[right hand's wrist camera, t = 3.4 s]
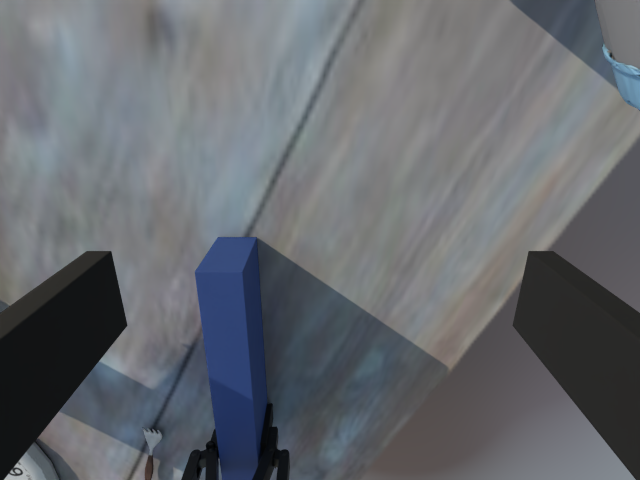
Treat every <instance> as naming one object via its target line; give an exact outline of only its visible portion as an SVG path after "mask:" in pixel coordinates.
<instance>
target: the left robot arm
mask: <svg viewBox="0 0 640 480" xmlns="http://www.w3.org/2000/svg"><path fill="white" fill-rule="evenodd" d="M272 422H273V409H272V404H267V406H266V412H265V418H264V424H263V430H262V436H261V442H260V446H261V460H260V462H259V464H258V467H257V469H256V472H255V474H254V476H253V479H252V480H270V477H271V475H272V472H273V469H274V467H275V468H276V467H278V471H277V480H289V471H290V461H289V451H288V450H285V449H284V450H281V451H280V450H278V449H277V444H278V429H277V427H272ZM218 459H220V458H219V450H218V443H217V435H216V428H215V429H214V432H213V435H212V438H211V441H209V442H208V443H207V444H206V450H204V451H200V450H194V451H192V452H191V454H190V457H189V460H188V462H187V465H186V468H185V471H184V474H183V476H182V479H181V480H199V478H200V475H201V472H202V469H203V468H204V467H206V480H219V461H218Z"/></svg>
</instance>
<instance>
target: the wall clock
mask: <svg viewBox="0 0 640 480" xmlns="http://www.w3.org/2000/svg"><path fill="white" fill-rule="evenodd" d="M4 480H59V477H58V475H57V473H56V471H55V469H54V466H53V464H52V462H51V461H50V460H49V458H48V457H47V456H46V455H45V454H44V452H43V451H42V450H41V449H40V448H39V446H38V445H37V444H36V443H35V442H34V443H33V444H32V445H31V447H30V448H29V449H28V450H27V452H26V453H25V454H24V455H23V457H22V458H21V459H20V460H19V462H18V463H17V464H16V465H15V467H14V468H13V469H12V470H11V472H10V473H9V474H8V475H7V477H6V478H5V479H4Z"/></svg>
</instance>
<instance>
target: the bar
mask: <svg viewBox="0 0 640 480" xmlns="http://www.w3.org/2000/svg"><path fill="white" fill-rule="evenodd" d="M195 277H196V284H197V292H198V300H199V307H200V315H201V322H202V330H203V337H204V345H205V352H206V360H207V367H208V375H209V382H210V390H211V398H212V405H213V413H214V420H215V428H216V435H217V443H218V450H219V458H220V465H221V473H222V480H252V479H253V476H254V474H255V472H256V469H257V467H258V464H259V462H260V460H261V446H260V442H261V436H262V430H263V424H264V418H265V412H266V406H267V404H268V403H267V388H266V372H265V357H264V341H263V326H262V310H261V295H260V279H259V264H258V248H257V237H218V238H217V240H216V241H215V243H214V244H213V246H212V247H211V248H210V250H209V251H208V253H207V254H206V256H205V257H204V259H203V260H202V262H201V263H200V265H199V266H198V268H197V269H196V271H195Z"/></svg>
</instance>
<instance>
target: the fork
mask: <svg viewBox="0 0 640 480" xmlns="http://www.w3.org/2000/svg"><path fill="white" fill-rule="evenodd" d="M142 429H143V430H144V435H145V438H146V440H147V443H148V445H149V448H150V452H149V456H148V460H147V464H146V468H145V480H151V478H152V474H153V448H154V447H155V446H156V445H157V444H158V443H159V442H160V441H161V439H162V434H161V432H160V431H159V430H157V431H158V433H159V434H158V433H157V432H156V431H155V430H154V429H152V430H153V432H154V433H153V432H151V430H150V429H149V428H147V430H148V431H149V432H147V431H146V429H145V428H143V427H142Z"/></svg>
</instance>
